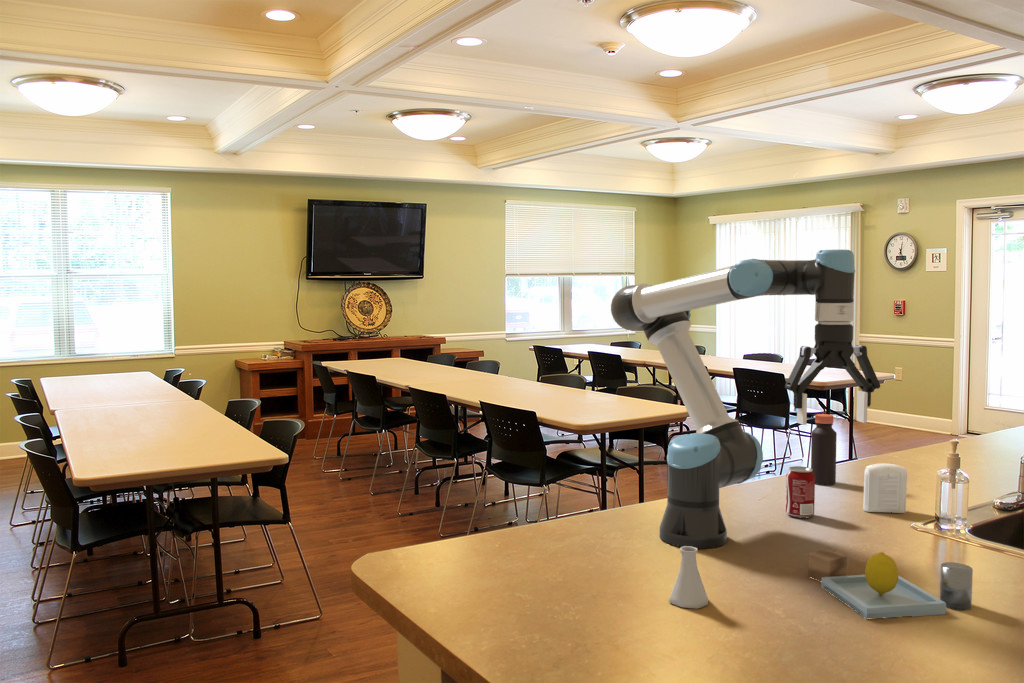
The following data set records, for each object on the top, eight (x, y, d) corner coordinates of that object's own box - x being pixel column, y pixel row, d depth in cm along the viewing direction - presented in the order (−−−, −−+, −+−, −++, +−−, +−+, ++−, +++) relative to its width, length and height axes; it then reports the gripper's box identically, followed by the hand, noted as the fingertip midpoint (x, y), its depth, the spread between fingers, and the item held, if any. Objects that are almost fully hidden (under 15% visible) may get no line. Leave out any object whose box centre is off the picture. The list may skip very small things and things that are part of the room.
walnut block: (829, 585, 154) (829, 560, 154) (808, 577, 158) (808, 553, 158) (846, 581, 156) (847, 556, 156) (826, 573, 161) (826, 549, 160)
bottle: (839, 485, 230) (840, 417, 228) (815, 485, 230) (816, 417, 229) (830, 480, 237) (831, 413, 235) (807, 480, 237) (808, 413, 235)
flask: (700, 613, 142) (701, 558, 141) (662, 604, 146) (662, 551, 145) (714, 599, 148) (714, 546, 147) (677, 591, 152) (677, 540, 151)
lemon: (895, 591, 148) (896, 549, 148) (899, 602, 143) (900, 558, 142) (863, 587, 150) (864, 546, 149) (866, 598, 145) (867, 555, 144)
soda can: (818, 519, 197) (819, 471, 196) (790, 519, 197) (791, 471, 196) (808, 511, 204) (809, 465, 203) (782, 511, 204) (782, 465, 203)
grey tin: (952, 611, 141) (953, 572, 141) (933, 600, 146) (934, 563, 146) (978, 609, 142) (979, 571, 142) (958, 598, 147) (959, 561, 146)
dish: (866, 619, 138) (866, 608, 138) (821, 587, 153) (821, 577, 153) (945, 614, 140) (946, 602, 140) (893, 582, 155) (894, 572, 155)
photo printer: (902, 509, 205) (903, 462, 204) (908, 514, 201) (909, 465, 200) (860, 508, 206) (861, 461, 205) (866, 513, 202) (867, 465, 201)
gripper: (786, 324, 163) (784, 427, 164) (899, 323, 166) (896, 424, 167) (769, 323, 170) (768, 421, 172) (878, 321, 173) (876, 418, 175)
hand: (831, 422), depth 169 cm, fingers open, 13 cm apart
